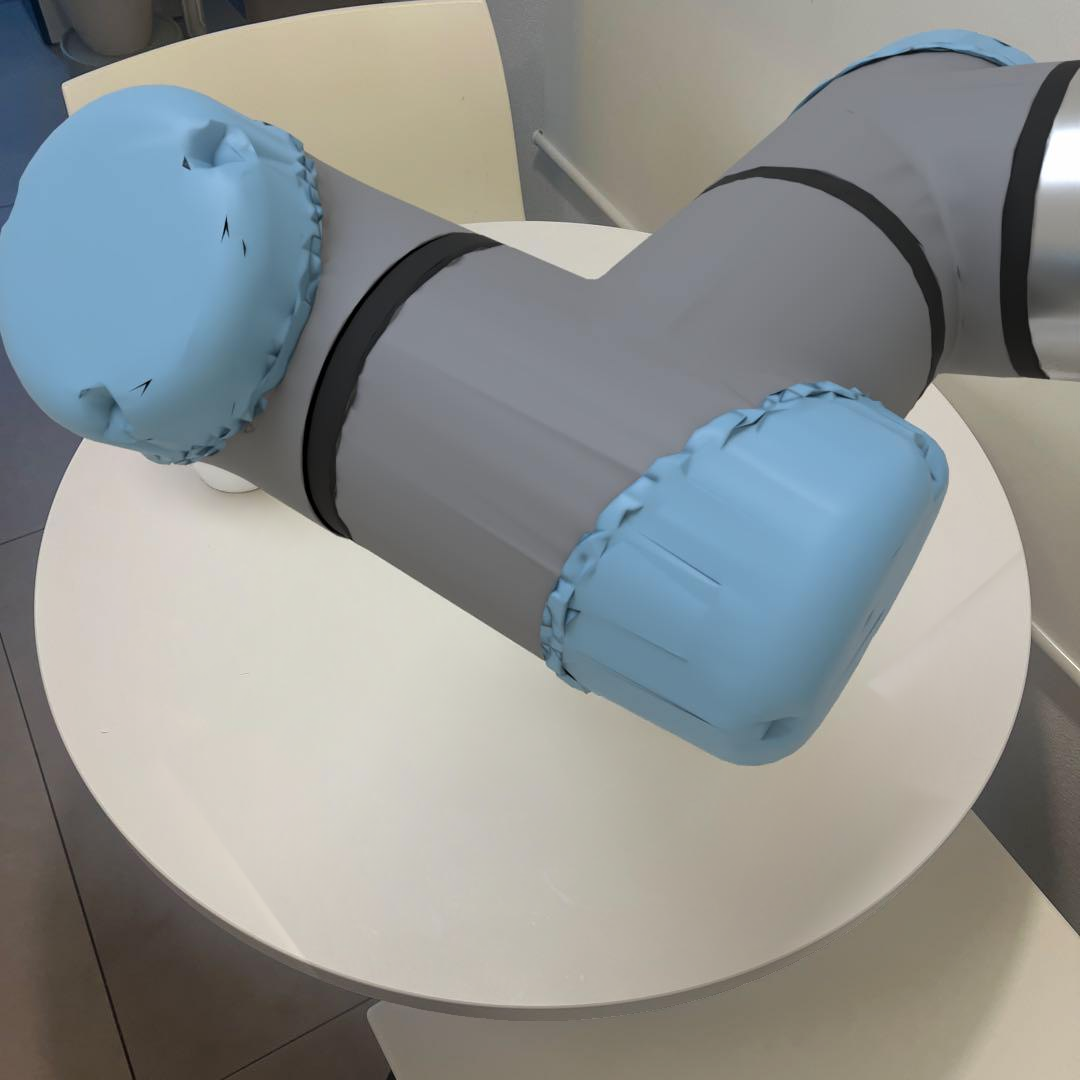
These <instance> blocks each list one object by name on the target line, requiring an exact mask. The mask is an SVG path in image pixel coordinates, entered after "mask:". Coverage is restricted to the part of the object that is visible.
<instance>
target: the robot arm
mask: <svg viewBox="0 0 1080 1080" xmlns="http://www.w3.org/2000/svg"><path fill="white" fill-rule="evenodd" d="M0 336H1V339H2V340H1V341H2V344H3V346H4V350H5V353H6V356H7V358H8V360H9V362H10V365H11V366H12V369H13V371H14V372H15V374H16V376H17V378H18V379H19V381H20V384H21V385H22V387H23V388H24V390H25V391H26V393H27V394H28V395H29V397H30V398H31V399H32V400H33V402H34V403H35V404H36V405H37V406H38V407H39V409H40V410H41V411H42V412H43V413H45V414H46V415H47V416H48V418H49V419H51V420H52V421H54V422H55V423H57V424H58V425H60V426H61V427H63V428H64V429H66V430H68V431H69V432H71V433H73V434H74V435H77V436H79V437H81V438H84V439H86V440H89V441H91V442H95V443H100V444H103V445H109V446H112V447H116V448H120V449H124V450H129V451H133V452H137V453H140V454H141V455H142V456H143V457H144V458H146V459H147V460H149V461H151V462H153V463H155V464H158V465H164V466H170V465H171V464H172V465H179V466H187V465H188V466H189V465H191V464H192V463H196V462H203V463H206V464H210V465H213V466H215V467H218V468H221V469H223V470H226V471H228V472H230V473H233V474H235V475H237V476H239V477H241V478H243V479H245V480H247V481H248V482H250V483H252V484H253V485H255V486H256V487H258V488H257V489H259V490H261V491H263V492H264V493H266V494H268V495H270V496H271V497H273V498H274V499H275V500H277V501H278V502H280V503H282V504H284V505H286V506H287V507H289V508H290V509H291V510H294V511H295V512H297V513H298V514H300V515H302V516H304V517H305V518H307V519H308V520H310V521H311V522H313V523H314V524H315V525H318V526H320V527H321V528H322V529H324V530H325V531H327V532H329V533H331V534H333V535H335V537H339V538H342V539H346V540H350V541H352V542H353V543H355V544H356V545H358V546H360V547H361V548H364V549H365V550H367V551H368V552H370V553H372V554H373V555H375V556H377V557H378V558H380V559H382V560H383V561H385V562H386V563H388V564H389V565H391V566H393V567H394V568H396V569H397V570H399V571H400V572H402V573H404V574H405V575H407V576H409V577H410V578H412V579H413V580H414V581H416V582H418V583H420V584H421V585H422V586H424V587H426V588H428V589H429V590H431V591H433V592H434V593H435V594H437V595H439V596H440V597H442V598H443V599H445V600H447V601H448V602H450V603H451V604H453V605H455V606H456V607H458V608H459V609H461V610H462V611H464V612H465V613H467V614H469V615H471V616H472V617H474V618H475V619H477V620H478V621H480V622H482V623H483V624H485V625H486V626H487V627H489V628H491V629H493V630H494V631H496V632H498V633H499V634H500V635H502V636H504V637H505V638H507V639H509V640H510V641H512V642H513V643H515V644H516V645H518V646H520V647H521V648H523V649H524V650H526V651H528V652H529V653H530V654H533V655H534V656H536V657H537V658H539V659H540V660H542V661H543V662H545V667H547V668H548V669H550V670H551V671H552V672H554V673H555V675H556V677H557V678H559V679H560V680H561V681H563V682H564V683H565V684H567V685H568V686H569V687H570V688H573V689H575V690H577V691H580V692H582V693H584V694H585V695H587V694H590V693H593V694H595V695H597V696H598V697H602V698H604V699H606V700H608V701H610V702H611V703H612V704H615V705H617V706H619V707H621V708H622V709H624V710H627V711H628V712H630V713H631V714H634V715H636V716H637V717H640V718H641V719H643V720H645V721H647V722H649V723H650V724H653V725H654V726H656V727H658V728H660V729H662V730H664V731H666V732H667V733H669V734H671V735H673V736H675V737H677V738H679V739H681V740H682V741H685V742H687V743H689V744H690V745H693V746H694V747H696V748H698V749H700V750H702V751H703V752H705V753H707V754H709V755H711V756H713V757H715V758H717V759H718V760H720V761H722V762H726V763H730V764H733V765H736V766H744V767H760V766H765V765H770V764H774V763H778V762H780V760H783V759H786V758H788V757H789V756H791V755H793V754H795V753H796V752H797V751H799V749H801V748H802V747H803V746H804V745H805V744H806V743H807V742H808V741H809V740H810V739H811V738H812V737H813V735H814V734H815V733H816V731H817V730H818V729H819V728H820V726H821V725H822V723H823V722H824V720H825V719H826V717H827V716H828V714H829V713H830V711H831V710H832V709H833V707H834V705H835V704H836V703H837V701H838V699H839V698H840V696H841V694H842V693H843V691H844V690H845V688H846V686H847V684H848V683H849V681H850V680H851V678H852V677H853V674H854V673H855V671H856V670H857V668H858V666H859V665H860V663H861V661H862V659H863V657H864V655H865V653H866V651H867V650H868V647H869V645H870V644H871V642H872V640H873V639H874V637H875V635H876V634H877V633H878V632H879V629H880V628H881V627H882V624H883V623H884V621H885V619H886V618H887V616H888V615H889V613H890V611H891V609H892V607H893V606H894V604H895V602H896V600H897V598H898V596H899V594H900V593H901V590H902V589H903V587H904V585H905V583H906V581H907V579H908V577H909V575H910V574H911V572H912V570H913V568H914V566H915V565H916V562H917V560H918V558H919V556H920V553H921V552H922V550H923V547H924V545H925V543H926V541H927V540H928V537H929V535H930V533H931V531H932V528H933V527H934V524H935V522H936V520H937V518H938V516H939V513H940V511H941V509H942V507H943V504H944V500H945V498H946V495H947V493H948V489H949V484H950V467H949V462H948V459H947V455H946V453H945V451H944V450H943V449H942V447H941V446H940V445H939V443H938V441H936V440H935V439H934V438H933V437H931V436H930V434H928V433H927V432H926V431H924V430H923V429H921V428H919V427H918V426H916V425H914V424H913V423H911V422H909V421H908V420H906V418H907V416H908V414H909V413H910V412H911V411H912V410H913V409H914V407H915V406H916V404H917V402H918V401H919V400H920V399H921V398H922V397H923V395H924V394H925V392H926V391H927V389H928V387H929V386H930V385H931V384H932V383H933V382H934V380H935V379H936V378H937V376H939V375H943V374H949V375H961V376H963V375H964V376H965V375H966V376H975V377H976V376H978V377H990V378H1002V379H1005V378H1008V379H1009V378H1011V379H1012V378H1016V379H1019V378H1022V379H1023V378H1025V379H1026V378H1027V379H1036V380H1049V381H1059V382H1061V381H1062V382H1074V383H1080V59H1073V60H1060V61H1047V62H1046V61H1043V62H1037V61H1036V60H1035V59H1034V58H1032V57H1031V56H1030V55H1029V54H1027V53H1026V52H1024V51H1023V50H1021V49H1019V48H1017V47H1014V46H1012V45H1009V44H1008V43H1005V42H1004V41H1002V40H1000V39H998V38H995V37H992V36H989V35H985V34H982V33H978V32H975V31H971V30H965V29H960V28H958V29H957V28H956V29H955V28H954V29H951V28H950V29H935V30H928V31H920V32H917V33H915V34H910V35H907V36H905V37H902V38H899V39H897V40H895V41H893V42H890V43H888V44H886V45H883V46H882V47H881V48H879V49H878V50H876V51H875V52H873V53H871V54H869V55H868V56H865V57H863V58H861V59H859V60H858V59H857V60H856V61H853V62H851V63H849V65H848V66H846V67H845V68H844V69H843V70H841V71H840V72H839V73H837V74H836V75H834V76H832V77H830V78H827V79H825V80H822V81H821V82H820V83H819V84H818V85H817V86H815V87H814V88H813V89H812V90H811V91H810V92H809V94H807V96H805V98H804V99H803V100H801V101H800V102H799V103H798V104H797V105H796V106H795V108H794V109H793V110H792V112H790V114H789V115H788V117H786V119H785V120H784V121H782V122H781V123H780V124H779V125H778V126H777V127H776V128H775V129H773V130H772V131H771V132H770V133H769V134H768V135H766V136H765V137H764V138H763V139H762V140H760V141H759V142H758V143H756V145H755V146H754V147H752V148H751V149H750V150H749V151H748V152H747V153H745V154H744V155H743V156H742V157H741V158H740V159H738V160H737V161H736V162H735V163H734V164H732V166H730V168H728V169H727V170H726V171H725V172H723V174H721V175H720V176H719V177H718V178H716V179H715V180H714V181H713V182H712V183H711V184H709V185H708V186H707V187H706V188H705V189H704V190H703V191H702V192H700V194H699V195H698V196H696V197H695V198H694V199H693V200H692V201H690V202H689V203H688V204H686V205H685V206H684V207H683V208H681V209H680V210H679V211H677V213H676V214H674V215H673V216H672V217H671V218H670V219H669V220H667V221H666V222H665V223H663V224H662V225H661V226H660V227H658V228H657V229H656V230H655V231H654V232H653V233H652V234H650V235H649V236H648V237H647V238H646V239H644V240H643V241H641V243H639V244H638V245H637V246H636V247H635V248H633V249H632V250H631V251H629V252H628V253H627V254H626V255H625V256H624V257H622V258H621V259H620V260H619V261H617V263H615V264H614V265H613V266H612V267H610V269H609V270H607V272H605V273H604V274H603V275H601V276H599V277H598V278H595V279H594V278H586V277H584V276H581V275H578V274H576V273H574V272H571V271H570V270H567V269H565V268H562V267H560V266H557V265H556V264H553V263H551V262H548V261H546V260H544V259H541V258H539V257H537V256H535V255H532V254H530V253H528V252H525V251H523V250H520V249H518V248H516V247H513V246H511V245H507V244H505V243H502V242H500V241H497V240H495V239H493V238H491V237H489V236H486V235H484V234H480V233H478V232H475V231H472V230H471V229H469V228H467V227H464V226H462V225H459V224H457V223H455V222H453V221H450V220H448V219H446V218H443V217H441V216H439V215H437V214H434V213H432V212H430V211H428V210H425V209H423V208H421V207H418V206H416V205H414V204H412V203H410V202H407V201H405V200H402V199H400V198H398V197H396V196H393V195H391V194H390V193H387V192H384V191H382V190H380V189H378V188H375V187H373V186H371V185H369V184H368V183H367V184H366V183H364V182H362V181H360V180H358V179H357V178H355V177H353V176H350V175H348V174H347V173H344V172H342V171H341V170H339V169H337V168H335V167H333V165H332V166H331V165H330V164H328V163H327V162H324V161H323V160H320V159H319V158H317V157H316V156H314V155H313V154H311V153H309V152H308V151H306V150H305V147H304V142H302V141H301V139H300V138H297V137H296V136H294V135H293V134H291V133H290V132H288V131H286V130H284V129H283V128H280V127H278V126H276V125H273V124H271V123H268V122H266V121H263V120H258V119H253V118H251V117H249V116H247V115H245V114H243V113H241V112H239V111H237V110H235V109H234V108H232V107H230V106H227V105H226V104H224V103H222V102H220V101H219V100H216V99H214V98H213V97H210V96H209V95H207V94H205V93H201V92H199V91H197V90H194V89H191V88H187V87H183V86H178V85H174V84H173V85H172V84H142V85H141V84H139V85H132V86H128V87H124V88H121V89H118V90H114V91H112V92H109V93H106V94H103V95H102V96H99V97H97V98H95V99H93V100H91V101H89V102H88V103H86V104H85V105H83V106H82V107H80V108H79V109H78V110H76V111H75V112H73V113H72V114H71V115H69V117H67V118H66V119H65V120H64V121H62V122H61V124H60V125H58V126H57V127H56V128H55V129H54V130H53V131H52V132H51V133H50V134H49V136H48V137H47V138H46V139H45V140H44V141H43V143H42V144H41V145H40V147H39V148H38V149H37V151H36V152H35V154H34V155H33V157H32V158H31V159H30V161H29V162H28V164H27V166H26V168H25V169H24V172H23V173H22V174H21V177H20V179H19V180H18V188H17V193H16V197H15V200H14V204H13V207H12V209H11V212H10V214H9V216H8V218H7V220H6V221H5V223H4V224H3V226H1V230H0Z"/></svg>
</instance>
